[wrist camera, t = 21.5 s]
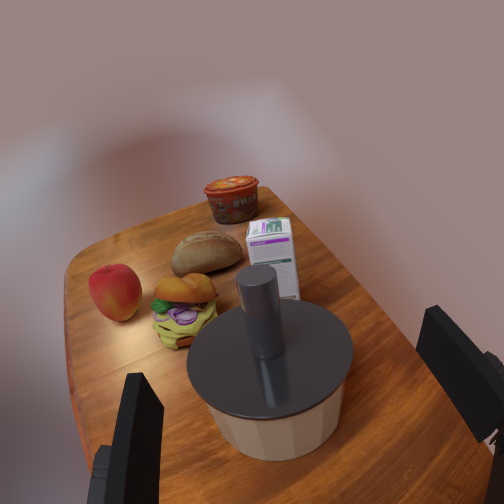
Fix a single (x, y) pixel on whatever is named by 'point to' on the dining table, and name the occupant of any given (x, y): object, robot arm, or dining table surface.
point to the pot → (282, 431)
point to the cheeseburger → (183, 308)
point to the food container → (233, 199)
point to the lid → (269, 353)
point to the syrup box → (275, 252)
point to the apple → (116, 291)
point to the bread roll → (205, 253)
